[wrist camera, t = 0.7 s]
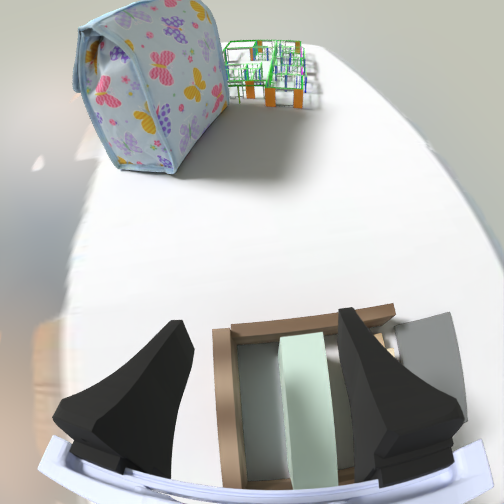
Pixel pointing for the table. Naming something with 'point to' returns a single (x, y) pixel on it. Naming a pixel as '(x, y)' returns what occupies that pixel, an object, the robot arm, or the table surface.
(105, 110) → the lunch bag
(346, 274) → the table surface
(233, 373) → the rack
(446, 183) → the table surface
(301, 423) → the pale green block
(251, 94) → the house model
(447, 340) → the mat
